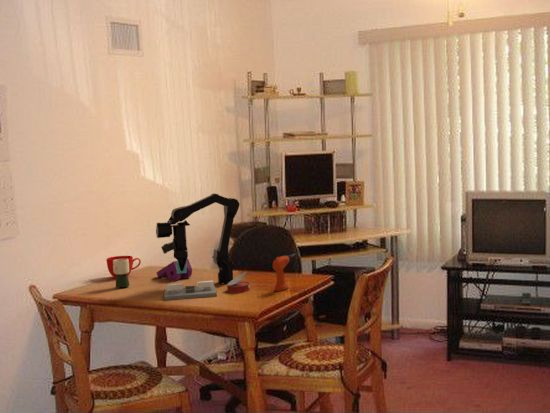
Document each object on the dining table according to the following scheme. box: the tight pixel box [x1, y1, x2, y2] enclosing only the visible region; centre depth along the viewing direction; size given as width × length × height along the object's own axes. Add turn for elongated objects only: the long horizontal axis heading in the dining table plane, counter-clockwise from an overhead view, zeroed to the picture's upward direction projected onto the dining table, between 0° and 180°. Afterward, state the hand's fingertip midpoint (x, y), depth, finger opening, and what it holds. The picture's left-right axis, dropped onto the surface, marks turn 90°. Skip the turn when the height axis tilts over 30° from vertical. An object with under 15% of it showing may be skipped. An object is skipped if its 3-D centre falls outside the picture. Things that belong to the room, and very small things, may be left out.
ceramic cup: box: [106, 255, 142, 279], centre depth 363 cm, size 13×17×10 cm
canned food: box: [226, 271, 251, 294], centre depth 315 cm, size 11×10×10 cm
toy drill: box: [272, 252, 296, 292], centre depth 316 cm, size 5×19×15 cm, turn 149°
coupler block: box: [175, 260, 187, 274], centre depth 327 cm, size 5×4×5 cm
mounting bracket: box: [156, 258, 193, 282], centre depth 353 cm, size 10×8×18 cm
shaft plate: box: [163, 280, 218, 301], centre depth 312 cm, size 22×16×5 cm
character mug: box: [113, 259, 130, 289], centre depth 335 cm, size 11×7×13 cm, turn 153°
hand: (181, 270), depth 328 cm, fingers closed on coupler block, 4 cm apart
